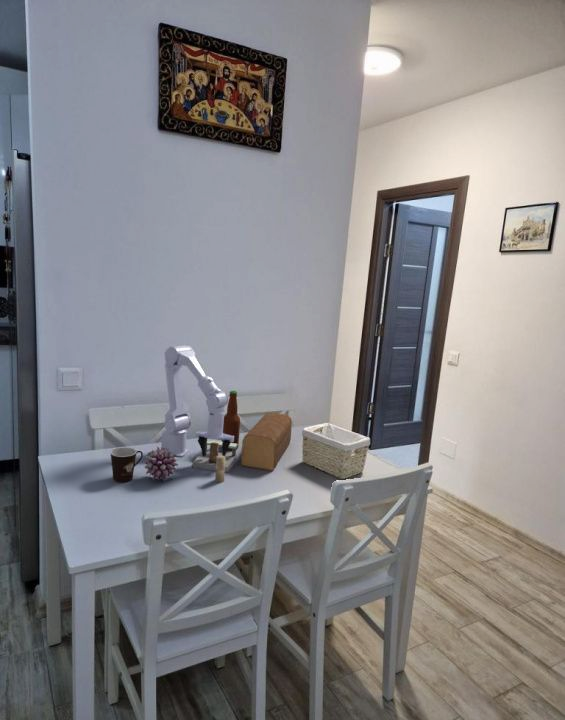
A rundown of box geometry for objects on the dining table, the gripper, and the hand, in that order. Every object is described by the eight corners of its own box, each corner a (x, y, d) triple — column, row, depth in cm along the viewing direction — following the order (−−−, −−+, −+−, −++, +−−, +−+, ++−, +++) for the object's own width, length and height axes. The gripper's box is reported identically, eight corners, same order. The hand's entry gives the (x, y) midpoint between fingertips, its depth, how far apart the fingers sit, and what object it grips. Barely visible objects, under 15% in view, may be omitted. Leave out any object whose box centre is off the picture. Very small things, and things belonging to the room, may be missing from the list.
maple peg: (214, 481, 173) (215, 458, 171) (216, 478, 176) (218, 454, 174) (222, 483, 172) (224, 459, 171) (225, 479, 176) (226, 456, 174)
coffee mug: (111, 485, 163) (112, 457, 161) (108, 475, 171) (108, 448, 169) (146, 481, 169) (147, 454, 167) (141, 471, 176) (142, 445, 174)
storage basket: (297, 461, 199) (300, 427, 196) (323, 453, 210) (326, 421, 207) (342, 482, 182) (346, 445, 179) (368, 473, 193) (372, 437, 190)
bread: (291, 444, 219) (293, 413, 216) (273, 472, 186) (276, 437, 183) (261, 439, 221) (263, 409, 219) (239, 466, 189) (241, 431, 186)
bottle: (237, 445, 211) (241, 389, 207) (238, 451, 204) (242, 394, 200) (221, 444, 210) (224, 388, 206) (221, 450, 203) (224, 393, 199)
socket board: (192, 467, 184) (193, 450, 183) (203, 455, 196) (204, 439, 195) (228, 472, 182) (229, 455, 181) (236, 459, 195) (237, 443, 193)
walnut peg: (207, 466, 185) (209, 444, 184) (210, 463, 188) (211, 441, 187) (215, 468, 185) (217, 445, 183) (218, 465, 188) (219, 443, 186)
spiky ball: (175, 487, 166) (176, 454, 164) (139, 485, 165) (140, 452, 163) (179, 473, 177) (181, 442, 175) (146, 471, 176) (147, 441, 174)
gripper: (194, 423, 181) (192, 458, 183) (231, 428, 179) (229, 463, 181) (200, 418, 188) (198, 451, 190) (236, 423, 186) (234, 456, 188)
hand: (213, 457), depth 186 cm, fingers open, 7 cm apart
